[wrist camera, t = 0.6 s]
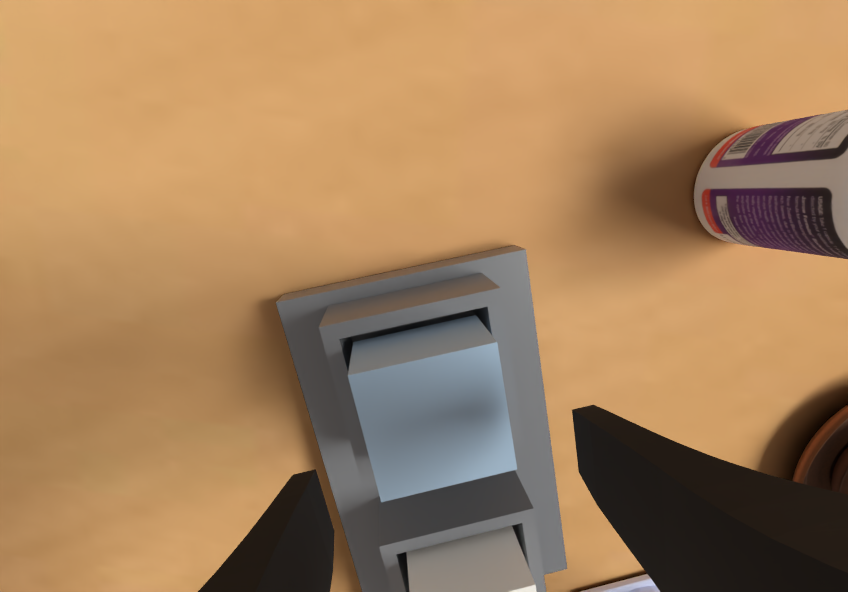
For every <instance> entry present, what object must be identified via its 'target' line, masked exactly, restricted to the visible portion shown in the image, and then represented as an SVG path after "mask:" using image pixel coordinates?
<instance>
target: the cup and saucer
mask: <svg viewBox="0 0 848 592" xmlns="http://www.w3.org/2000/svg"><path fill="white" fill-rule="evenodd" d="M793 481H794V482H798V483H802V484H805V485H809V486H813V487H817V488H822V489H826V490H831V491H835V492H840V493H844V494H848V405H846V406H845V407H843V408H842V409H841V410H839V411H838V412H837V413H836V414H834V415H833V416H832V417H831V418H830V419H829V420H828V421H827V422H826V423H825V424H824V425H823V426H822V427H821V428H820V429H819V430H818V431H817V432H816V434H815V435H814V436H813V437H812V439H811V440H810V442H809V443H808V445H807V446H806V448H805V450H804V451H803V453H802V455H801V457H800V459H799V461H798V464H797V466H796V469H795V473H794V476H793Z"/></svg>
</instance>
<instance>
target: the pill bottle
mask: <svg viewBox="0 0 848 592" xmlns="http://www.w3.org/2000/svg"><path fill="white" fill-rule="evenodd" d="M694 205H695V210H696V213H697V216H698V218H699V220H700V222H701V224H702V225H703V227H704V228H705V229H706V230H707V231H708V232H709V233H710V234H711V235H713V236H715V237H716V238H718V239H720V240H723V241H726V242H731V243H736V244H741V245H748V246H756V247H764V248H771V249H779V250H786V251H793V252H801V253H808V254H815V255H822V256H829V257H837V258H844V259H848V110H844V111H839V112H833V113H828V114H821V115H816V116H810V117H805V118H800V119H794V120H789V121H783V122H777V123H772V124H766V125H761V126H756V127H752V128H748V129H744V130H741V131H738V132H736V133H734V134H732V135H730V136H728V137H727V138H725V139H724V140H722V141H721V142H720V143H719V144H717V145H716V146H715V147H714V148H713V149H712V150H711V152H710V153H709V154H708V156H707V157H706V159H705V160H704V162H703V164H702V166H701V168H700V170H699V172H698V175H697V178H696V182H695V187H694Z"/></svg>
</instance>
